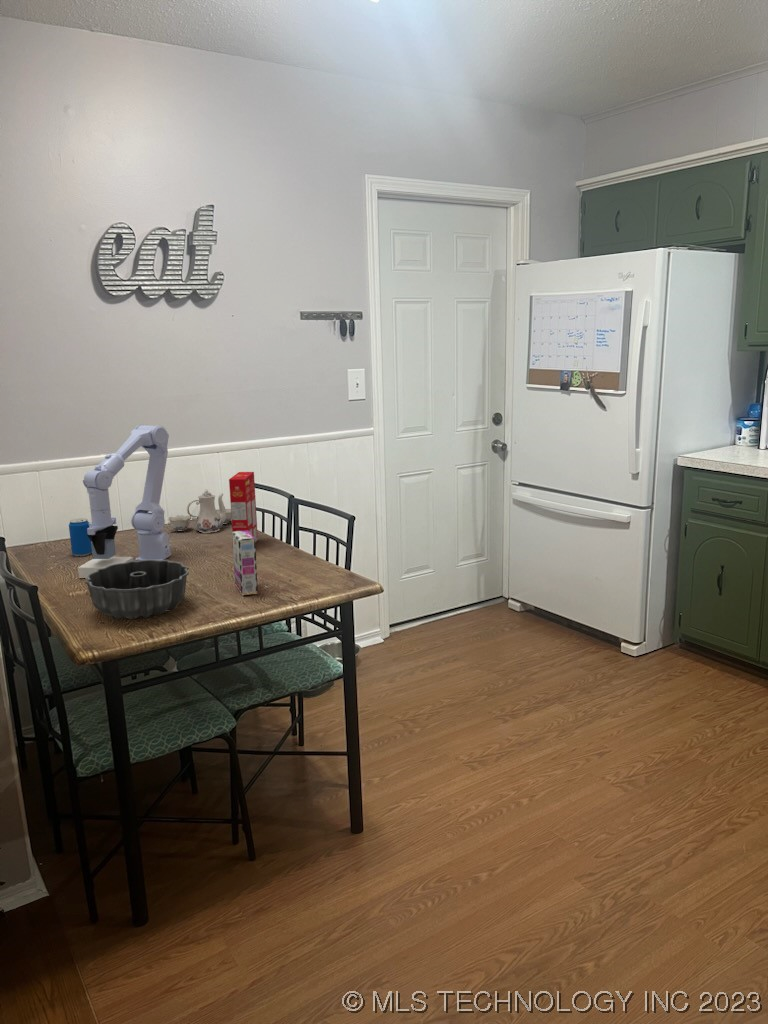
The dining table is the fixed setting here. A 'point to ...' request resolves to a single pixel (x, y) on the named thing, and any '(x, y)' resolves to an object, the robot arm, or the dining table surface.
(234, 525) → the food packaging
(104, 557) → the blue cube
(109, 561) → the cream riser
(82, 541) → the beverage can
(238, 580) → the candy bar box
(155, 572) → the bundt pan
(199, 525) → the chinaware
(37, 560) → the dining table surface
